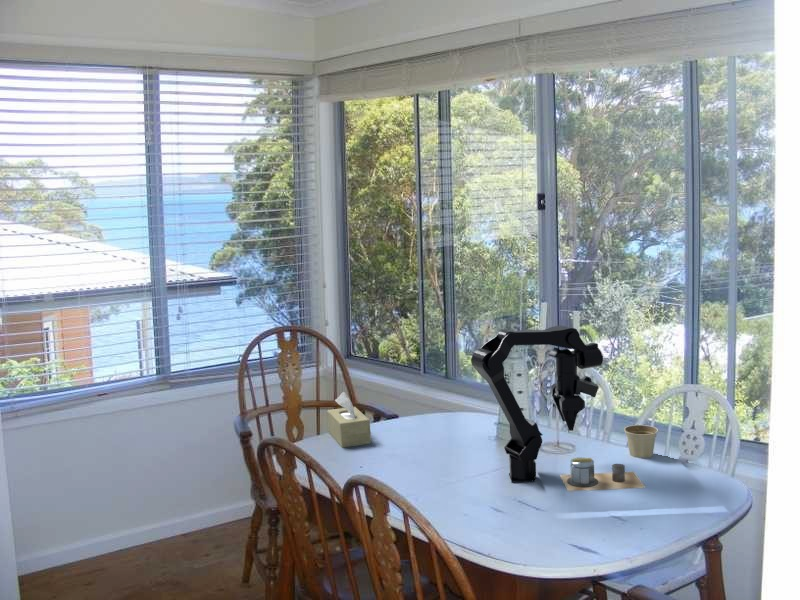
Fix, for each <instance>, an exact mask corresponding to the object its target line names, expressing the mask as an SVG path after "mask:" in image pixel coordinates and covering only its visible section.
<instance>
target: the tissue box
mask: <svg viewBox="0 0 800 600" xmlns="http://www.w3.org/2000/svg"><path fill="white" fill-rule="evenodd" d="M334 402H336V404H338V406H341V408H335V409H334V408H333V409H327V413H326V414H327V424H328V425H327V426H328V427H327V429H328V434H329V435H330V436H331V438H333V440H334V441H335V442H336V443H337V444H338V446H340V447H341V448H351V447H357V446H361V445H362V446H363V445H371V444H372V438H371V437H372V435H371V421H370V419H369V418H368V417H367V416H366V415H365V414H364V413H363V412H362V411H360V410H359V409H358V408H357V407H356V406H353V403H352V401H351V399H350V398H349V396H348V395H347V393H346V392H345V391H343V392H342V393H340V395H338V396H337V398H335V399H334Z"/></svg>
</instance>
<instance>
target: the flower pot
mask: <svg viewBox="0 0 800 600" xmlns="http://www.w3.org/2000/svg"><path fill="white" fill-rule="evenodd" d="M623 431H624V432H625V435H626V436H625V437H626V438H627V444H628V451H629V456H631V457H633V458H638V459H648V458H652V457H653V456H654V455H653V454H654V448H655V442H656V438H657V434H658V433H659V429H658V428H657V427H655V426H651V425H646V424H645V425H644V424H634V425H633V424H632V425H627V426H625V427H624V429H623Z"/></svg>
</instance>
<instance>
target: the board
mask: <svg viewBox="0 0 800 600" xmlns="http://www.w3.org/2000/svg"><path fill="white" fill-rule="evenodd" d="M611 466H612V467H611V470H612V471H611V472H597V473H595V472H594V483H592V484H589V485H579V484H575V483H572V481H571V474H559V477H560V478H561V481H562V482H563V484H564V486H565V488H566V489H567V492H577V491H579V492H580V491H600V490H602V491H603V490H604V491H605V490H622V489H623V490H624V489H643V488H644V489H645V488H646V486H645V484H644V483H643V482H642V481H641V479H640V478H639V477H638V475H636V473H635V472H634V471H626V469H625V467H626V466H625V464H621V463H613V464H612V465H611Z"/></svg>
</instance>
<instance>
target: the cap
mask: <svg viewBox="0 0 800 600" xmlns="http://www.w3.org/2000/svg"><path fill="white" fill-rule="evenodd" d="M569 465H570V475H571V481H572V483H575V484H579V485H589V484H592V483H594V473H595V461H594V460H593V459H592V458H591V457H574V458H572V459H570V464H569Z"/></svg>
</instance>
